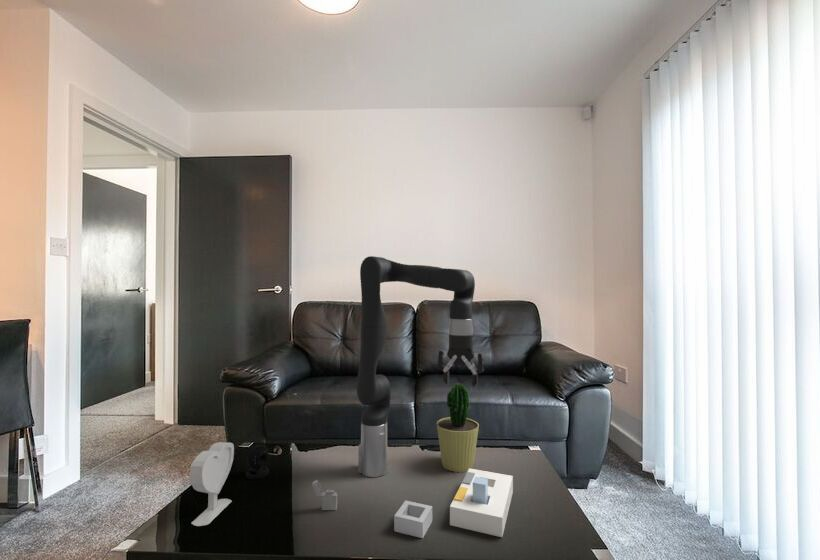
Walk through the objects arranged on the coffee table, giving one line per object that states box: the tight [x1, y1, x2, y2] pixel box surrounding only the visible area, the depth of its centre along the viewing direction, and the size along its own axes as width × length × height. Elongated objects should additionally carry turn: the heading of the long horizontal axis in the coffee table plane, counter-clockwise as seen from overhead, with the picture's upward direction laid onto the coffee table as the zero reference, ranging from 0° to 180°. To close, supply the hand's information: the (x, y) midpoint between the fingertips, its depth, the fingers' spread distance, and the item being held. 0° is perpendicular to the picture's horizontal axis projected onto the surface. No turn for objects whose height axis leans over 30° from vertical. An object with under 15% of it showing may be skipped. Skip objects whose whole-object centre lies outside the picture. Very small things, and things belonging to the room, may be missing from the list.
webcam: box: [245, 444, 270, 480], centre depth 132 cm, size 8×8×10 cm
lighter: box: [311, 479, 338, 511], centre depth 112 cm, size 7×2×8 cm, turn 89°
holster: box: [393, 500, 433, 539], centre depth 104 cm, size 8×8×4 cm
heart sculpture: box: [189, 441, 235, 527], centre depth 111 cm, size 16×5×18 cm, turn 175°
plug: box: [473, 477, 488, 505], centre depth 109 cm, size 4×4×10 cm
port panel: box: [449, 468, 514, 538], centre depth 113 cm, size 14×24×5 cm, turn 159°
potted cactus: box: [436, 382, 480, 473], centre depth 141 cm, size 15×15×30 cm
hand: (460, 384), depth 121 cm, fingers open, 8 cm apart
